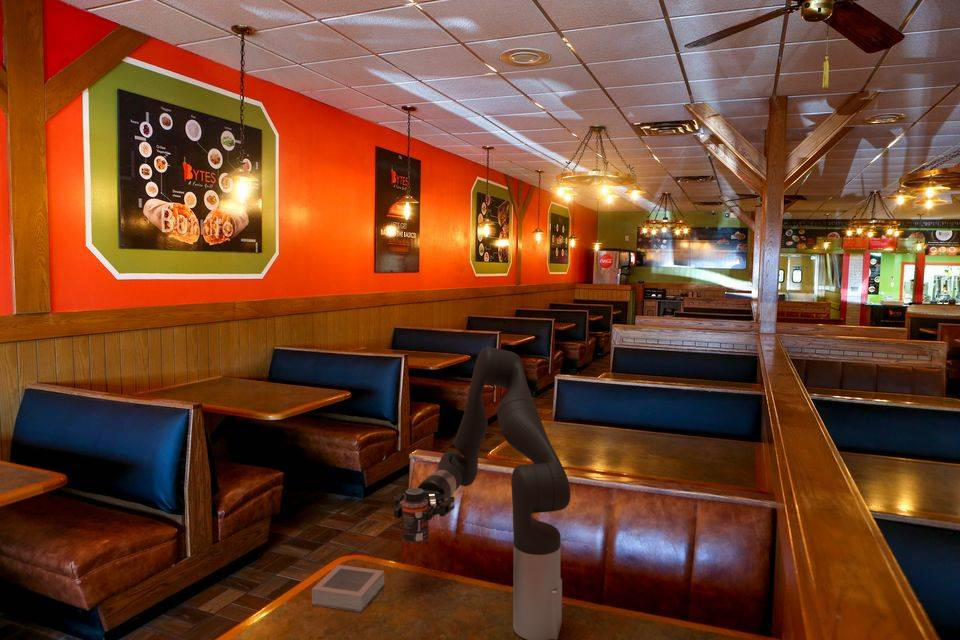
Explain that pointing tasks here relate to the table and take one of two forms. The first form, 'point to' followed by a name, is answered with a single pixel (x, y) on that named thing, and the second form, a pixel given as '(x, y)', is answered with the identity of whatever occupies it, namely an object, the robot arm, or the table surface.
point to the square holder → (348, 588)
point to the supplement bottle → (414, 517)
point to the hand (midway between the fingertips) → (410, 516)
